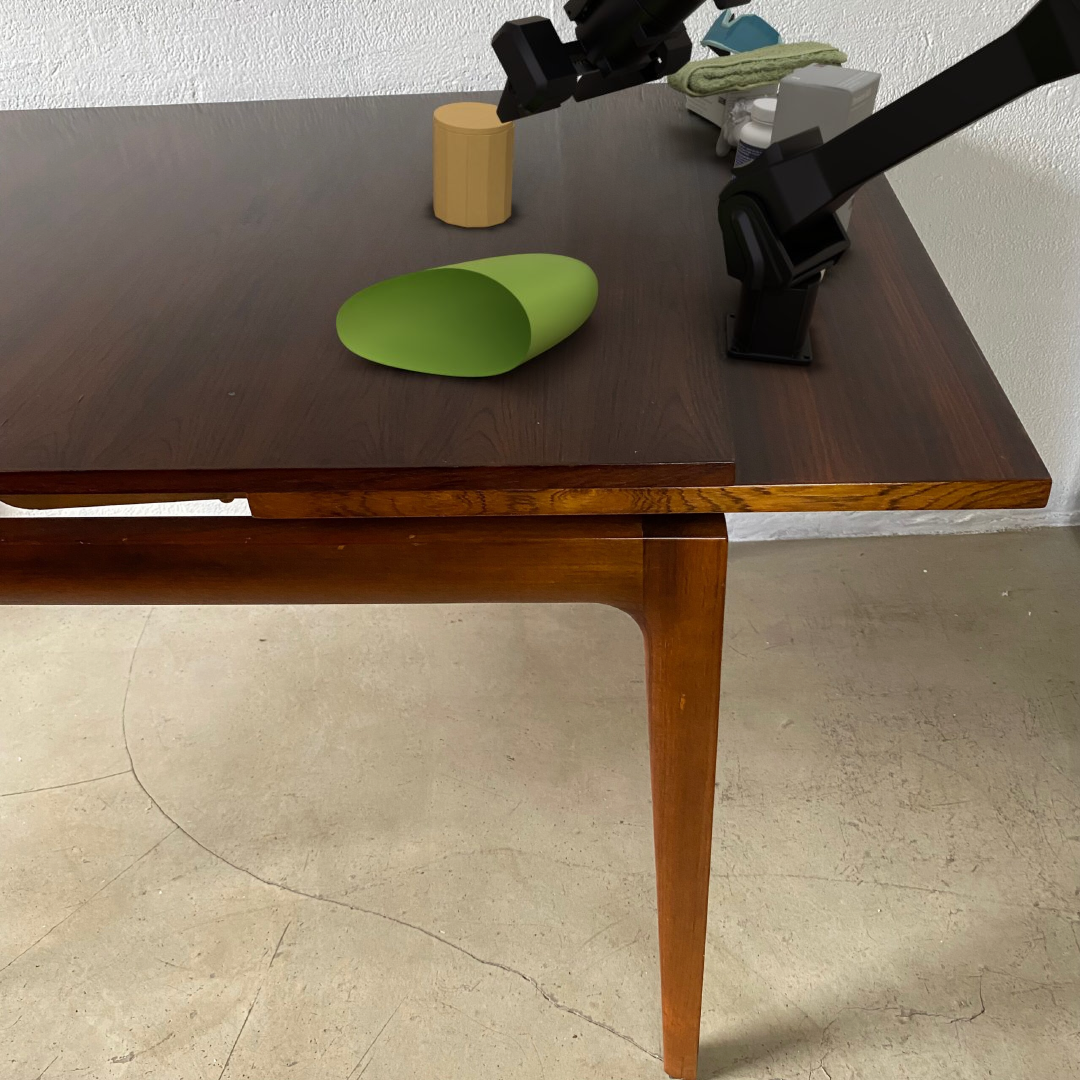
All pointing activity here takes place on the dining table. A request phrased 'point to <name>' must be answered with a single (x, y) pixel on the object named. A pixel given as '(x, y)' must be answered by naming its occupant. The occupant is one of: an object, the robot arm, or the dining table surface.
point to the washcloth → (751, 68)
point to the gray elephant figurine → (735, 124)
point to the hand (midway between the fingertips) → (538, 107)
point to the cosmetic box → (824, 105)
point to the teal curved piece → (739, 34)
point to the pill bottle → (756, 131)
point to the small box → (726, 102)
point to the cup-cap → (472, 165)
